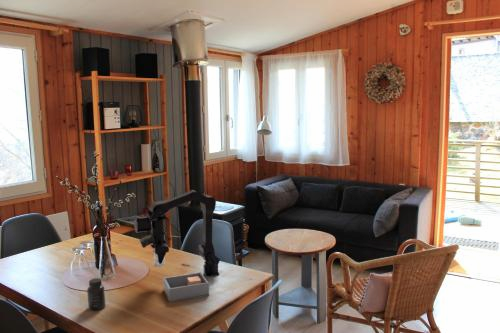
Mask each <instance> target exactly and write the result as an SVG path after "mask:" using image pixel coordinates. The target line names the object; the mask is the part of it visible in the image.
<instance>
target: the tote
mask: <svg viewBox="0 0 500 333" xmlns="http://www.w3.org/2000/svg"><path fill="white" fill-rule="evenodd" d="M196 276H198V277H199V278H200V280H201V283H200V284H194V285H188V284H187V278H189V277H196ZM162 284H163V291H164V294H165V296H166V298H167V300H168V302H169V303H172V302H177V301H178V302H179V301H184V300H189V299H190V300H191V299H196V298H202V297H208V296H210V283H209V282H208V280H207V279H206V277H205V276H204V274H203V273H202V272H201V271H199V272H193V273H187V274H180V275H179V274H178V275H174V276H165V277H163V278H162Z"/></svg>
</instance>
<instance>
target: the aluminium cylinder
mask: <svg viewBox="0 0 500 333" xmlns="http://www.w3.org/2000/svg"><path fill="white" fill-rule="evenodd" d="M165 256H166V255H165ZM165 256H164V259H163V261H162V263H161V264H159V261H158V257H157V254H156V253H155V252H154V251H153V267H158V268H160V267H164V266H166V262H165V261H166V259H165V258H166V257H165Z"/></svg>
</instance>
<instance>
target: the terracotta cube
mask: <svg viewBox="0 0 500 333" xmlns="http://www.w3.org/2000/svg"><path fill="white" fill-rule="evenodd" d="M200 283H201V280H200V278H199V277H198V276H196V277H189V278H187V284H188V285H194V284H200Z"/></svg>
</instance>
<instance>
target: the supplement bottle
mask: <svg viewBox="0 0 500 333" xmlns="http://www.w3.org/2000/svg"><path fill="white" fill-rule="evenodd" d="M86 291H87V292H86V294H87V306H88V309H89V310H90V311H91V312H93V311H95V312H97V311H101V310H103V309H104V308H105V307H106V296H105V295H106V294H105V293H106V292H105V286H104V285H103V284H102V278H98V277H97V278H96V277H95V278H91V279H90V280H89V281H88V287H87V290H86Z"/></svg>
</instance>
